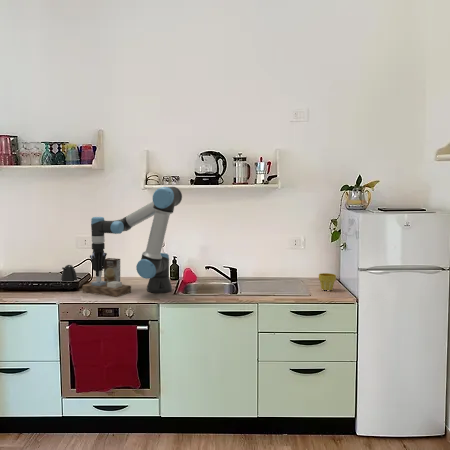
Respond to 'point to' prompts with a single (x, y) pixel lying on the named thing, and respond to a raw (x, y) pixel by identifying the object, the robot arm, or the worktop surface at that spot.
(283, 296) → the worktop surface
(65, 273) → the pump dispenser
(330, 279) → the plant pot
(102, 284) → the blue key
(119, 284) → the white key
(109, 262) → the coffee box
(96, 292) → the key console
